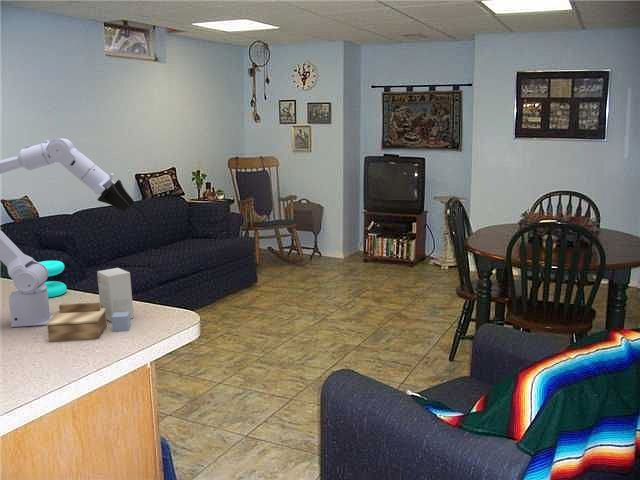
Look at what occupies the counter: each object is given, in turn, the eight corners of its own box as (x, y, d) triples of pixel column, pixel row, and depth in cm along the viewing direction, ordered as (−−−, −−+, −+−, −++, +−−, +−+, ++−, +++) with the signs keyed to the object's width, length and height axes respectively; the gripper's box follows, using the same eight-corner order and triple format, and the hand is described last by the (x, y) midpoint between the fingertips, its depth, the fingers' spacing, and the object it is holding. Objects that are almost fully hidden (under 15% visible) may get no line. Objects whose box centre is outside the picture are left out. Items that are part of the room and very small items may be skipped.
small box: (134, 318, 184) (130, 272, 182) (112, 323, 180) (107, 276, 178) (122, 311, 191) (118, 267, 188) (100, 316, 187) (96, 271, 184)
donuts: (22, 265, 206) (47, 258, 215) (25, 297, 208) (50, 288, 217) (46, 268, 202) (71, 261, 210) (49, 300, 204) (74, 291, 212)
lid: (46, 325, 166) (45, 315, 166) (57, 312, 177) (56, 303, 176) (97, 322, 168) (96, 312, 167) (106, 310, 178) (105, 300, 177)
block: (112, 331, 174) (111, 317, 173) (115, 326, 178) (114, 312, 177) (128, 331, 174) (127, 316, 173) (131, 326, 178) (129, 311, 177)
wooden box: (49, 341, 167) (47, 326, 167) (59, 328, 177) (58, 313, 176) (98, 338, 169) (97, 323, 168) (106, 325, 178) (105, 311, 178)
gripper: (92, 163, 169) (135, 199, 172) (104, 159, 183) (143, 192, 186) (74, 184, 170) (117, 219, 173) (87, 179, 184) (127, 211, 187)
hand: (129, 207), depth 179 cm, fingers open, 7 cm apart
